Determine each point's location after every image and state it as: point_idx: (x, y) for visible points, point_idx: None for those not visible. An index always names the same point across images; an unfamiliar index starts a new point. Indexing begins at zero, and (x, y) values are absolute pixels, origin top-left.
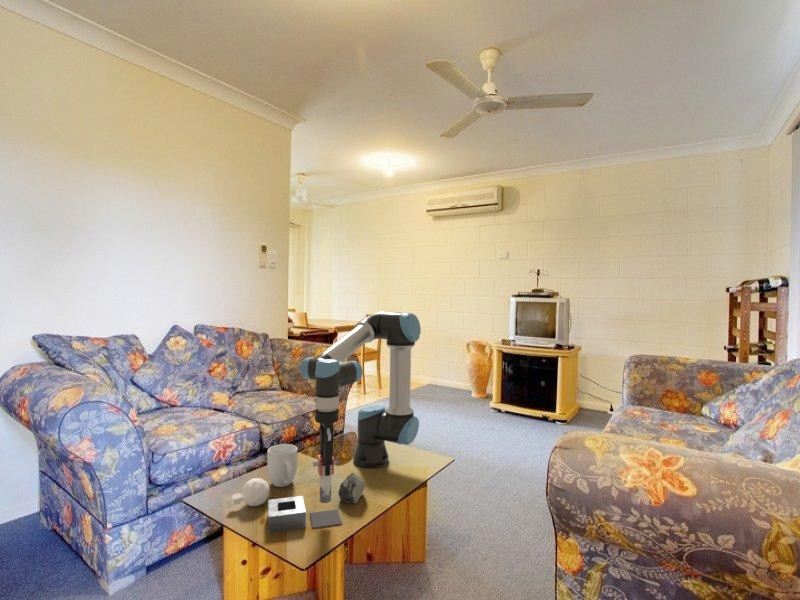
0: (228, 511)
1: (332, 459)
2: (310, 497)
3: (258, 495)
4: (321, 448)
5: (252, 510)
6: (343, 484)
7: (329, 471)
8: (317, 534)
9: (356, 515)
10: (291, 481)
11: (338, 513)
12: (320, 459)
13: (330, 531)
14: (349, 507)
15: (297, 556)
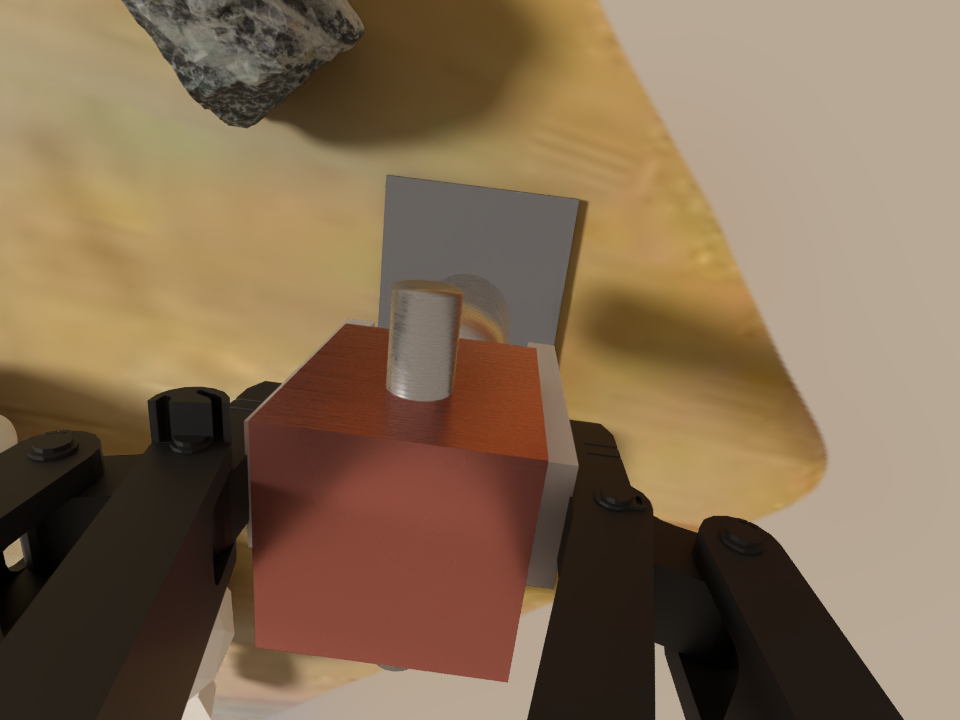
0: (232, 680)
1: (826, 618)
2: (162, 300)
3: (215, 641)
4: (177, 705)
5: (249, 598)
6: (220, 79)
7: (619, 463)
8: (615, 364)
9: (505, 55)
10: (8, 424)
11: (446, 183)
12: (485, 668)
13: (620, 288)
14: (373, 70)
15: (757, 493)
